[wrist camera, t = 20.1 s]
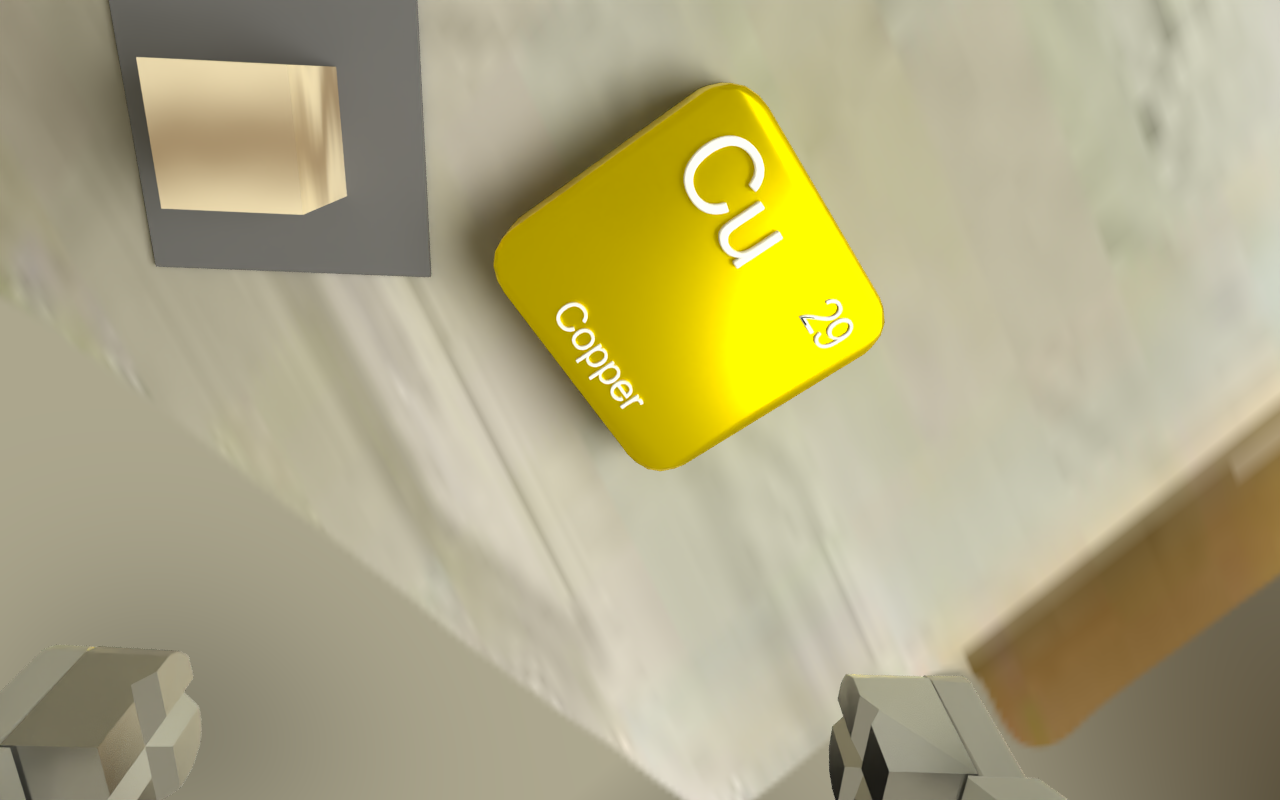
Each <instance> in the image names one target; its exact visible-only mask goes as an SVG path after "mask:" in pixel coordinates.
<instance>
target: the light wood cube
mask: <svg viewBox="0 0 1280 800" xmlns="http://www.w3.org/2000/svg"><path fill="white" fill-rule="evenodd" d="M136 60H137V66H138V72H139V78H140V84H141V90H142V96H143V102H144V108H145V114H146V120H147V126H148V132H149V138H150V144H151V150H152V156H153V162H154V168H155V174H156V179H157V185H158V191H159V197H160V203H161V209H183V210H205V211H227V212H250V213H272V214H294V215H304V214H306V213H309V212H311V211H313V210H316V209H318V208H320V207H323V206H325V205H327V204H330V203H332V202H334V201H337V200H339V199H341V198H344V197H346V196H347V190H346V179H345V167H344V155H343V143H342V131H341V119H340V107H339V95H338V83H337V71H336V67H330V66H311V65H291V64H272V63H252V62H233V61H214V60H192V59H170V58H147V57H136Z"/></svg>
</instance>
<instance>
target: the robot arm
mask: <svg viewBox="0 0 1280 800" xmlns="http://www.w3.org/2000/svg"><path fill="white" fill-rule="evenodd" d="M193 678H194V677H193V672H192V668H191V664H190V660H189V656H188V655H186V654H184V653H182V652H180V651H173V650H157V649H139V648H122V647H105V646H98V647H91V646H74V645H54V646H52V647H49V648H46V649H44V650H42V651H41V652H40V653H39V654H38V655H37V656H36V657H35V658H34V659H33V660H32V661H31V662H30V663H29V664H28V665H27V666H26V667H25V668H24V669H23V670H22V671H21V672H20V673H19V674H18V675H17V676H16V677H15V678H14V679H13V680H12V681H11V682H10V683H8V685H6V686H5V687H4V688H3V690H2V691H0V800H163V799H165V798H166V797H168V796H169V795H171V794H172V793H173V792H175V791H177V790H178V789H180V788H181V786H182V784H183V783H184V781H185V780H186V778H187V776H188V774H189V773H190V771H191V769H192V768H193V765H194V762H195V759H196V755H197V752H198V749H199V746H200V742H201V727H202V721H201V715H200V709H199V706H198V705H197V704H196V703H195V702H194V701H193V700H192V699H191V698H190V697H189V696H188V695H187V694H186V693H185V692H184V691H185V689H186V687H187V686H188V685H189V684H190V682H191V681H192V679H193ZM838 701H839V704H840V707H841V710H842V713H843V717H842V718H841V719H840V720H839V721H838V722H837V723H836V724H835V725H834V726H832V732H831V738H830V744H829V772H830V778H831V784H832V790H833V793H834V797H835V800H1068V799H1067V798H1065V797H1064V796H1062V795H1061V794H1060V793H1058V792H1057V791H1056V790H1054V789H1052V788H1051V787H1050V786H1048V785H1047V784H1046V783H1044V782H1043V781H1042V780H1040V779H1039V778H1026V776H1025V775H1024V773H1023V771H1022V770H1021V768H1020V766H1019V764H1018V763H1017V761H1016V759H1015V757H1014V756H1013V754H1012V752H1011V751H1010V749H1009V747H1008V745H1007V744H1006V742H1005V740H1004V739H1003V737H1002V735H1001V733H1000V732H999V730H998V728H997V727H996V725H995V723H994V721H993V720H992V718H991V716H990V715H989V713H988V711H987V709H986V708H985V706H984V704H983V702H982V701H981V699H980V697H979V696H978V694H977V692H976V691H975V689H974V687H973V685H972V684H971V682H970V681H969V680H968V679H966V678H965V677H964V676H923V677H921V676H892V675H857V674H846V675H845V677H844V679H843V680H842V682H841V686H840V691H839V695H838Z"/></svg>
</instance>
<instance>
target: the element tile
mask: <svg viewBox="0 0 1280 800" xmlns="http://www.w3.org/2000/svg"><path fill="white" fill-rule="evenodd" d="M493 266H494V270H495V274H496V277H497V281H498V282H499V284H500V286H501V288H502V290H503V291H504V293H505V294H506V296H507V297H508V298H509V300H510V301H511V302H512V303H513V305H514V306H515V307H516V309H517V310H518V311H519V313H520V314H521V315H522V317H523V318H524V319H525V320H526V322H527V323H528V324H529V326H530V327H531V328H532V330H533V331H534V332H535V334H536V335H537V336H538V337H539V339H540V340H541V341H542V343H543V344H544V345H545V347H546V348H547V349H548V351H549V352H550V353H551V354H552V356H553V357H554V358H555V360H556V361H557V362H558V364H559V365H560V366H561V368H562V369H563V370H564V371H565V373H566V374H567V375H568V377H569V378H570V379H571V381H572V382H573V383H574V385H575V386H576V387H577V388H578V390H579V391H580V392H581V394H582V395H583V396H584V398H585V399H586V400H587V402H588V403H589V404H590V405H591V407H592V408H593V409H594V411H595V412H596V413H597V415H598V416H599V417H600V419H601V420H602V421H603V422H604V424H605V425H606V426H607V428H608V429H609V430H610V432H611V433H612V434H613V436H614V437H615V438H616V439H617V441H618V442H619V443H620V445H621V446H622V447H623V449H624V450H625V451H626V453H627V454H628V455H629V456H630V457H631V458H632V459H633V460H634V461H635V462H636V463H638V464H640V465H642V466H644V467H645V468H647V469H651V470H657V471H664V470H669V469H675V468H677V467H679V466H682V465H684V464H686V463H688V462H689V461H691V460H692V459H694V458H696V457H697V456H699V455H701V454H702V453H704V452H705V451H707V450H709V449H710V448H712V447H714V446H715V445H717V444H718V443H720V442H722V441H723V440H725V439H727V438H728V437H730V436H731V435H733V434H735V433H736V432H738V431H740V430H741V429H743V428H745V427H746V426H748V425H749V424H751V423H753V422H754V421H756V420H758V419H759V418H761V417H762V416H764V415H766V414H767V413H769V412H771V411H772V410H774V409H775V408H777V407H779V406H780V405H782V404H784V403H785V402H787V401H789V400H790V399H792V398H793V397H795V396H797V395H798V394H800V393H802V392H803V391H805V390H806V389H808V388H810V387H811V386H813V385H815V384H816V383H818V382H819V381H821V380H823V379H824V378H826V377H828V376H829V375H831V374H832V373H834V372H836V371H837V370H839V369H841V368H842V367H844V366H846V365H847V364H849V363H850V362H852V361H854V360H855V359H857V358H859V357H860V356H862V355H863V354H865V353H866V352H867V351H868V350H869V349H870V348H871V347H872V346H873V345H874V343H875V342H876V341H877V340H878V338H879V337H880V336H881V332H882V329H883V326H884V323H885V322H884V311H883V305H882V303H881V300H880V297H879V295H878V294H877V292H876V290H875V288H874V287H873V285H872V283H871V282H870V280H869V278H868V276H867V275H866V273H865V271H864V270H863V268H862V266H861V264H860V263H859V261H858V259H857V258H856V256H855V254H854V252H853V251H852V249H851V247H850V246H849V244H848V242H847V241H846V239H845V237H844V235H843V234H842V232H841V230H840V229H839V227H838V225H837V223H836V222H835V220H834V218H833V217H832V215H831V213H830V211H829V210H828V208H827V206H826V205H825V203H824V201H823V199H822V198H821V196H820V194H819V193H818V191H817V189H816V187H815V186H814V184H813V182H812V181H811V179H810V177H809V175H808V174H807V172H806V170H805V169H804V167H803V165H802V163H801V162H800V160H799V158H798V157H797V155H796V153H795V152H794V150H793V148H792V146H791V145H790V143H789V141H788V140H787V138H786V136H785V134H784V133H783V131H782V129H781V128H780V126H779V124H778V122H777V121H776V119H775V117H774V116H773V114H772V112H771V110H770V109H769V107H768V106H767V105H766V103H765V102H764V101H763V100H762V98H761V97H760V96H759V95H758V94H756V93H755V92H753V91H752V90H750V89H749V88H748V87H746V86H743V85H738V84H733V83H717V84H712V85H708V86H704V87H702V88H700V89H697V90H696V91H695V92H693V93H692V94H690V95H689V96H688V97H686V98H685V99H684V100H682V101H681V102H679V103H678V104H677V105H675V106H674V107H672V108H671V109H670V110H668V111H667V112H665V113H664V114H663V115H661V116H660V117H658V118H657V119H656V120H654V121H653V122H652V123H650V124H649V125H647V126H646V127H645V128H643V129H642V130H640V131H639V132H638V133H636V134H635V135H633V136H632V137H631V138H629V139H628V140H626V141H625V142H624V143H622V144H621V145H620V146H618V147H617V148H615V149H614V150H613V151H611V152H610V153H608V154H607V155H606V156H604V157H603V158H601V159H600V160H599V161H597V162H596V163H594V164H593V165H592V166H590V167H589V168H587V169H586V170H585V171H583V172H582V173H581V174H579V175H578V176H576V177H575V178H574V179H572V180H571V181H569V182H568V183H567V184H565V185H564V186H562V187H561V188H560V189H558V190H557V191H555V192H554V193H553V194H551V195H550V196H549V197H547V198H546V199H544V200H543V201H542V202H540V203H539V204H537V205H536V206H535V207H533V208H532V209H530V210H529V211H528V212H526V213H525V214H523V215H522V216H521V217H520V218H519V219H518V220H517V221H516V222H515V223H514V224H513V225H512V226H511V227H510V229H509V230H508V231H507V232H506V234H505V235H504V236H503V238H502V239H501V241H500V243H499V245H498V246H497V248H496V250H495V255H494V263H493Z"/></svg>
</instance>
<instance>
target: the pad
mask: <svg viewBox="0 0 1280 800" xmlns="http://www.w3.org/2000/svg"><path fill="white" fill-rule="evenodd" d="M109 5H110V10H111V16H112V22H113V27H114V33H115V39H116V44H117V50H118V56H119V61H120V67H121V72H122V78H123V84H124V89H125V95H126V101H127V106H128V112H129V118H130V123H131V129H132V134H133V140H134V146H135V151H136V157H137V163H138V168H139V174H140V179H141V185H142V191H143V196H144V202H145V208H146V213H147V219H148V225H149V230H150V236H151V241H152V247H153V253H154V258H155V264H156V266H159V267H184V268H209V269H235V270H260V271H285V272H311V273H336V274H361V275H387V276H412V277H431V261H430V241H429V221H428V202H427V182H426V162H425V143H424V123H423V103H422V84H421V64H420V44H419V25H418V5H417V0H109ZM136 57H147V58H170V59H192V60H214V61H233V62H252V63H272V64H291V65H311V66H330V67H336V71H337V83H338V95H339V107H340V119H341V131H342V143H343V155H344V167H345V179H346V190H347V196H346V197H344V198H341V199H339V200H337V201H334V202H332V203H330V204H327V205H325V206H323V207H320V208H318V209H316V210H313V211H311V212H309V213H306V214H304V215H294V214H272V213H250V212H227V211H205V210H183V209H161V203H160V197H159V191H158V185H157V179H156V174H155V168H154V162H153V156H152V150H151V144H150V138H149V132H148V126H147V120H146V114H145V108H144V102H143V96H142V90H141V84H140V78H139V72H138V66H137V60H136Z"/></svg>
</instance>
